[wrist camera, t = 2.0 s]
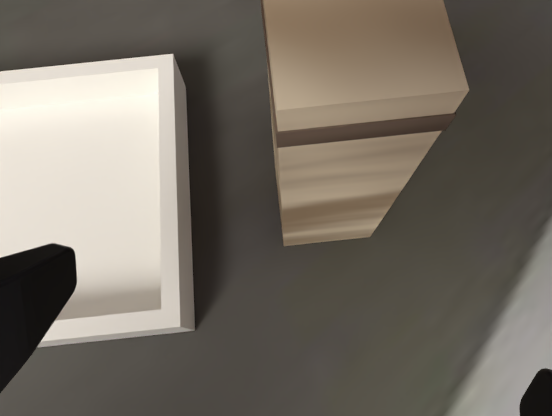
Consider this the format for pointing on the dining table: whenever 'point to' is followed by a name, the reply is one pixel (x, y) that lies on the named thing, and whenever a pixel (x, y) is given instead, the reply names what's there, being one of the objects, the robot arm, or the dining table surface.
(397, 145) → the birch block
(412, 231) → the dining table surface
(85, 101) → the tray
